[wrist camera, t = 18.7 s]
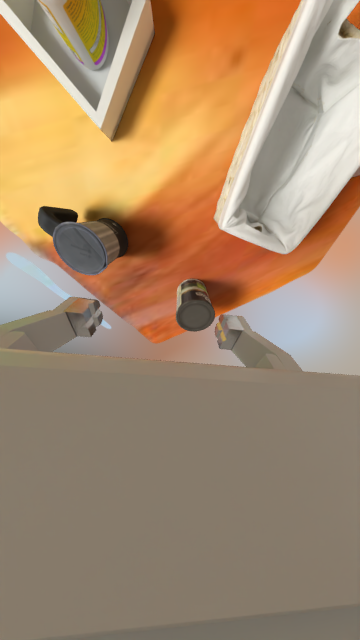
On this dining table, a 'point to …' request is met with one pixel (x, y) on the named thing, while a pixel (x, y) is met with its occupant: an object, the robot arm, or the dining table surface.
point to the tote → (82, 83)
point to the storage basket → (298, 132)
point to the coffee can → (193, 306)
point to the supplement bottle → (80, 28)
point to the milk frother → (83, 239)
